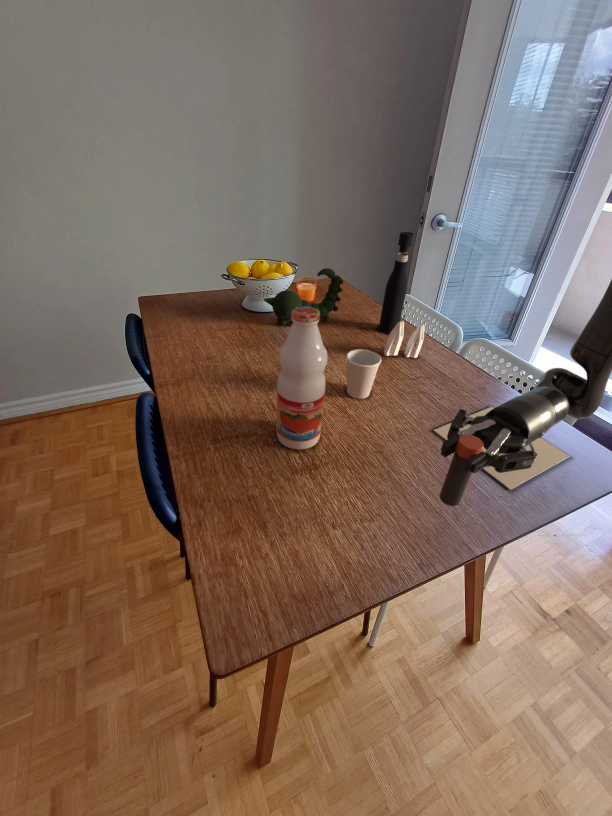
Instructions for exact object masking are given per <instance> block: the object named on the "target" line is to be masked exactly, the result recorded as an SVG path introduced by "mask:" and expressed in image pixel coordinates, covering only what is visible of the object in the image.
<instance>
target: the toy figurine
mask: <svg viewBox="0 0 612 816" xmlns="http://www.w3.org/2000/svg"><path fill="white" fill-rule="evenodd" d="M320 276H326V277H327V278H328V279H330V283H329V284H328V288H327V291H326V292H325V295H324V296H325V297H324V298H323V299H322V300H321V302H318V303H316V302H309V301H308V300H305V299H302V298H301V297H300V296H299V294H298V293H296V292H295V291H292V290H289V289H287V290H286V289H285V290H281V291H279V292H278V293H276V295H275V296H273V297H266V298H263V301H264V302H265V303H267V304H269V305H270V306H271V307H272V312H273V313H274V315H275V317H276V321H277V323H278V325H279V326H282V327H283V326H286V325H287V323H288V322H289V321H291V322H292V317H291V314H292V310H293V309H294V308H296V307H301V306H307V307H313V308H315V309H317V310H318V311H319V313H320V319H323V321H324V322H326V323H327V322H329V321H330V316H329V314H330V312H332V311H333V312H338V311H339V307H338V305H336V302H338V303H339V302H341V297H340V296H339V293H342V292H343V289H342V288H341V285H343V284H344V280H343V279H342V277H341V276H340V275H337V274H336V272H335V270H333V269H331V268H330V267H329V268H327V267H325V268H322V269H321V270H319V271H318V272H317V277H320ZM320 319H319V320H320ZM317 325H319V322H318V323H317Z"/></svg>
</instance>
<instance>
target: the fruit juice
mask: <svg viewBox="0 0 612 816" xmlns="http://www.w3.org/2000/svg"><path fill="white" fill-rule="evenodd" d="M291 317H292V320H291V322H292V323H291V326H290V329H289V331H288V334H287V336H286V338H285V340H284V342H283V343H282V344H281V346H280V348H279V351H278V364H279V367H280V371H279V372H278V375H277V382H276V423H275V424H276V426H275V428H276V429H275V431H276V437H277V440H278V441H279V443H280V444H281V445H283V446H284V447H286V448H288V449H292V450H307V449H310V448H312V447H314V446H315V445H316V444H317V443H318V442H319V440H320V438H321V434H322V433H321V432H322V424H323V414H324V405H325V395H326V383H327V381H326V374H325V369H326V367H327V364H328V356H329V355H328V351H327V349H326V347H325V344H324V343H323V339H322V336H321V332H320V329H319V321H320V313H319V311H318V310H317V309H315V308H313V307H307V306H301V307H296V308H294V309H293V310H292V314H291ZM317 323H318V324H317Z"/></svg>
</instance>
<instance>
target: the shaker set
mask: <svg viewBox="0 0 612 816" xmlns="http://www.w3.org/2000/svg"><path fill="white" fill-rule="evenodd" d="M404 321H405V320H400V322H398V323H397V325H396V326H395V327H394V329H393V330H392V332H391V333H390V334H389V335H388V338H387V340H386V343H385V346H384V349H383V352H384V353H383V355H384V357H392V356H393V357H395V356H398V354H399V351H400V349H401V345H402V343H403V339H404V333H405V322H404ZM424 339H425V324H424V323H421V324H419V325H418V326H417V327H416V329H415V330H414V331H413V333H412V334H411V335H410V337H409V339H408V342H407V344H406V346H405V349H404V352H403V353H404V357H405V358H412V359H416V358H418V356H419V354H420V351H421V349H422V346H423V343H424Z"/></svg>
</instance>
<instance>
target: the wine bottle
mask: <svg viewBox="0 0 612 816" xmlns="http://www.w3.org/2000/svg"><path fill="white" fill-rule="evenodd" d="M413 240H414V233H413V232H409V231H401V232H399V238H398V243H397V245H398V246H399V250H398V253H397V255H396V257H395V258H396V259H395V261H394V265H393V270H392V271H391V273H390V275H389V277H388V279H387V282H386V285H385V291H384V296H383V302H382V308H381V313H380V319H379V324H378V330H379V331H380V332H381V333H383V334H389V335H390V333H391V332H392V330H393V329H394V327H395V326H396V325H397V323H398V322H401V319H402V315H403V310H404V305H405V300H406V296H407V290H408V275H407V270H408V263H409V262H408V260H409V259H408V258H409V254H408V253H409V248H410V247H412V245H413Z"/></svg>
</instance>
